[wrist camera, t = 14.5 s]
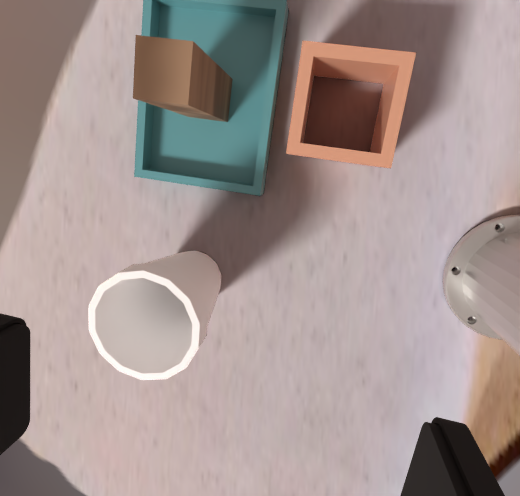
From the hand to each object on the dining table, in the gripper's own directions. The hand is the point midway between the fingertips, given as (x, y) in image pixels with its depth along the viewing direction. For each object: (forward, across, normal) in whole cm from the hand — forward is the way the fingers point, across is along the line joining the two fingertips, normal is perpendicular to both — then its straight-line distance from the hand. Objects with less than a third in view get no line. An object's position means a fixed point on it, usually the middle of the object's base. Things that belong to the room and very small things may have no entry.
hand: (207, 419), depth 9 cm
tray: (+31, +11, -10) cm, 35 cm away
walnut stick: (+31, +11, -10) cm, 34 cm away
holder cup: (+32, -2, -11) cm, 33 cm away
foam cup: (+32, +10, +9) cm, 34 cm away
